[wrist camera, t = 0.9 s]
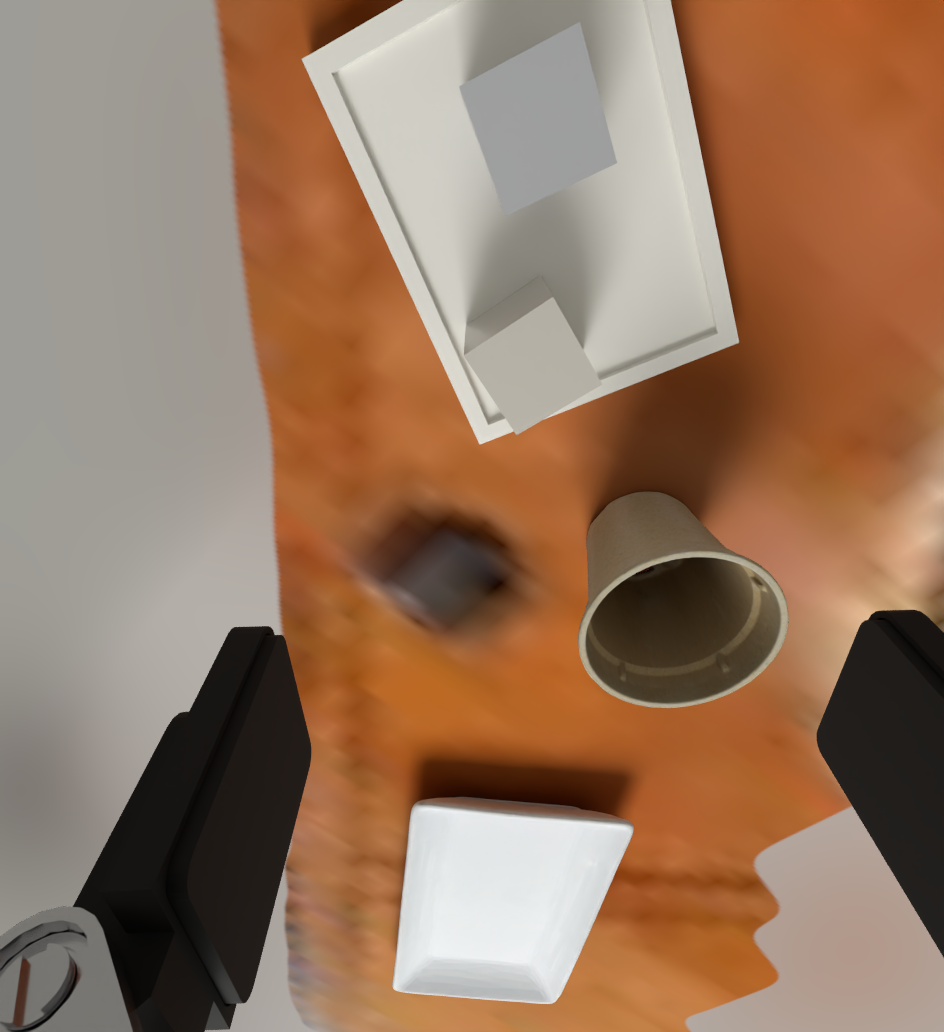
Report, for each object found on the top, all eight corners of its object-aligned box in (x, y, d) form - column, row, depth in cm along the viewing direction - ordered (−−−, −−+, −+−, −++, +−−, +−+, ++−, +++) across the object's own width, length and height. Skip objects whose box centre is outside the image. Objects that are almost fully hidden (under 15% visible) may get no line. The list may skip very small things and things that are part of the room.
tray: (394, 956, 62) (389, 997, 59) (415, 765, 46) (411, 807, 43) (553, 967, 63) (557, 1007, 60) (629, 783, 47) (639, 825, 44)
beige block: (540, 274, 26) (553, 296, 22) (583, 350, 28) (602, 384, 24) (465, 325, 27) (463, 355, 23) (510, 394, 29) (516, 435, 25)
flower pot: (526, 520, 34) (539, 620, 27) (675, 429, 31) (737, 513, 24) (607, 621, 38) (639, 733, 31) (747, 549, 35) (820, 654, 28)
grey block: (560, 48, 22) (579, 21, 18) (592, 162, 24) (617, 162, 20) (462, 100, 23) (459, 86, 19) (500, 206, 25) (505, 215, 21)
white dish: (633, -122, 21) (642, -140, 19) (728, 334, 29) (739, 342, 27) (310, 64, 23) (301, 59, 22) (479, 433, 31) (479, 444, 30)
